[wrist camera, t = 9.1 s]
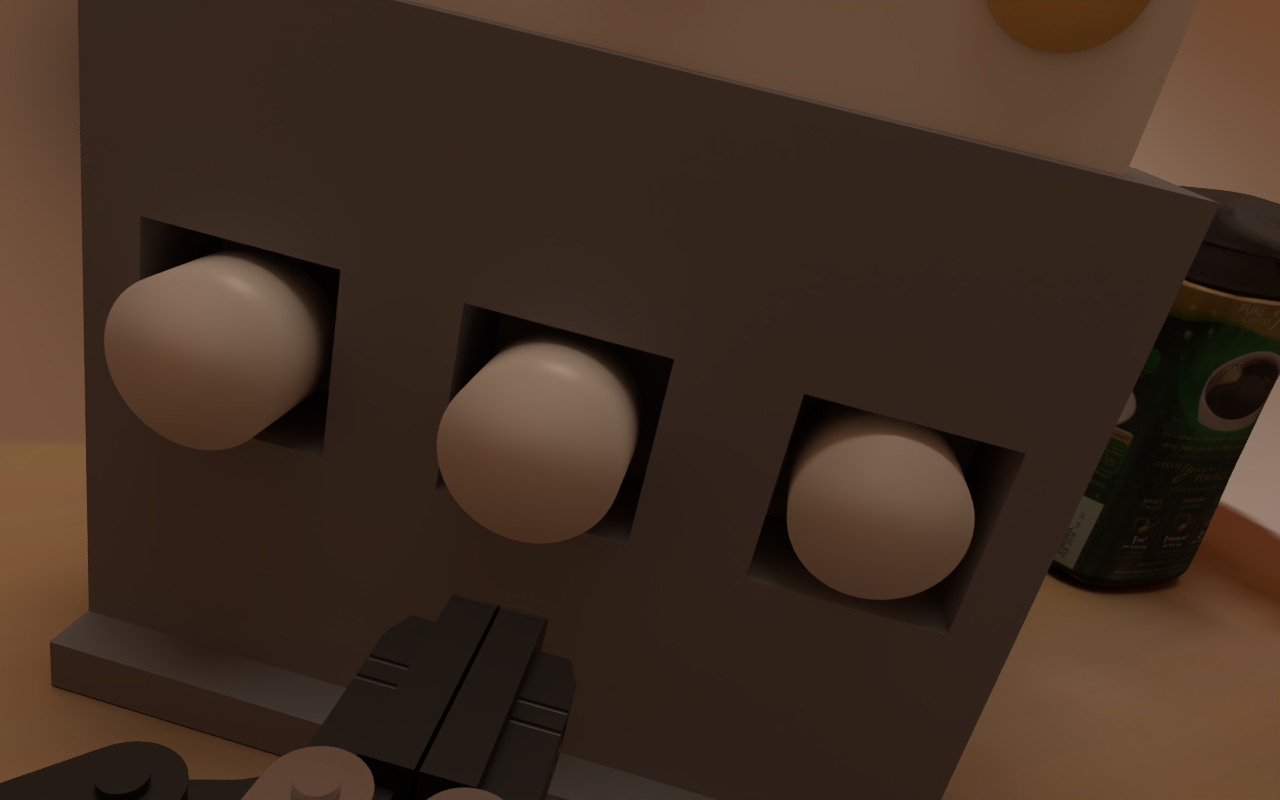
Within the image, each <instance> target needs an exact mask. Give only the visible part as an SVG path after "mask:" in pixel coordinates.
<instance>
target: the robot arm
mask: <svg viewBox="0 0 1280 800" xmlns="http://www.w3.org/2000/svg"><path fill="white" fill-rule="evenodd" d="M547 623H548V618H546V617H542V616H539V615H535V614H531V613H528V612H524V611H521V610H517V609H514V608H510V607H506V606H502V607H501V609H500V605H499V604H495V603H491V602H488V601H484V600H481V599H477V598H473V597H470V596H466V595H463V594H459V593H454V594H453V595H452V596H451V598H450V599H449V601H448V602H447V604H446V606H445V607H444V609H443V611H442V612H441V614H440V616H439V618H438V619H437V621H436V622H434V621H431V620H427V619H423V618H420V617H416V616H413V615H411V616H409V617H408V618H406V619H404V620H403V621H401V622H399V623H398V624H396V625H395V626H393V627H391V628H390V629H388V630H386V631H385V632H384V634H383V635H382V637H381V638H380V640H379V641H378V643H377V644H376V645H375V647H374V648H373V650H372V651H371V653H370V655H369V658H368V659H366V660H365V662H364V663H363V665H362V666H361V668H360V669H359V671H358V672H357V675H356V677H355V678H353V680H352V681H351V683H350V684H349V686H348V687H347V688H346V690H345V691H344V693H343V694H342V696H341V697H340V699H339V700H338V702H337V703H336V705H335V706H334V708H333V709H332V711H331V712H330V714H329V715H328V717H327V718H326V720H325V721H324V723H323V724H322V726H321V727H320V729H319V730H318V731H317V733H316V734H315V736H314V737H313V739H312V740H311V742H310V743H309V745H308V746H307V747H306V748H302V749H298V750H295V751H292V752H290V753H287V754H286V755H284V756H282V757H280V758H279V759H277V760H276V761H275V762H273V763H272V764H271V765H270V766H269V767H268V768H267V769H266V770H265V771H264V772H263V774H262V775H261V776H259V777H255V778H249V779H242V780H188V779H189V776H188V769H187V766H186V764H185V762H184V760H183V759H182V758H181V756H179V755H178V754H177V753H176V752H175V751H173V750H171V749H169V748H168V747H165V746H162V745H160V744H156V743H150V742H138V741H137V742H124V743H119V744H114V745H110V746H107V747H104V748H101V749H98V750H95V751H92V752H89V753H86V754H83V755H80V756H77V757H75V758H72V759H69V760H66V761H63V762H60V763H57V764H54V765H51V766H49V767H46V768H43V769H40V770H37V771H34V772H31V773H28V774H25V775H22V776H20V777H17V778H14V779H11V780H8V781H5V782H2V783H0V800H546V797H547V794H548V790H549V787H550V784H551V781H552V778H553V775H554V771H555V768H556V765H557V762H558V758H559V754H560V750H561V746H562V742H563V738H564V734H565V730H566V726H567V722H568V718H569V714H570V710H571V705H572V701H573V697H574V693H575V689H576V681H575V677H574V673H573V669H572V664H571V660H570V659H566V658H563V657H559V656H556V655H552V654H549V653H545V652H542V647H543V642H544V638H545V633H546V629H547Z"/></svg>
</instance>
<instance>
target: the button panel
mask: <svg viewBox="0 0 1280 800" xmlns="http://www.w3.org/2000/svg"><path fill="white" fill-rule="evenodd" d="M78 31H79V32H78V33H79V84H80V85H79V86H80V87H79V88H80V140H81V141H80V142H81V193H82V194H81V199H82V249H83V250H82V254H83V307H84V364H85V416H86V417H85V418H86V474H87V529H88V584H89V611H88V612H87V613H85V614H84V615H83V616H82V617H81V618H79V619H78V620H77V621H76V622H74V623H73V624H72V625H71V626H69V627H68V628H67V629H66V630H64V631H63V632H62V633H61V634H59V635H58V636H57V637H56V638H54V639H53V640H52V641H51V642H50V655H51V681H52V685H53V686H57V687H60V688H63V689H66V690H70V691H73V692H76V693H79V694H83V695H86V696H89V697H92V698H96V699H99V700H102V701H105V702H109V703H112V704H115V705H118V706H122V707H125V708H128V709H131V710H135V711H138V712H141V713H144V714H148V715H151V716H154V717H157V718H161V719H164V720H167V721H170V722H174V723H177V724H180V725H183V726H187V727H190V728H193V729H196V730H200V731H203V732H206V733H209V734H213V735H216V736H219V737H222V738H226V739H229V740H232V741H235V742H239V743H242V744H245V745H248V746H252V747H255V748H258V749H262V750H265V751H268V752H271V753H275V754H278V755H281V756H284V755H286V754H287V753H290V752H292V751H295V750H298V749H302V748H306V747H307V746H308V745H309V743H310V742H311V740H312V739H313V737H314V736H315V734H316V733H317V731H318V730H319V729H320V727H321V726H322V724H323V723H324V721H325V720H326V718H327V717H328V715H329V714H330V712H331V711H332V709H333V708H334V706H335V705H336V703H337V702H338V700H339V699H340V697H341V696H342V694H343V693H344V691H345V690H346V688H347V687H348V686H349V684H350V683H351V681H352V680H353V678H355V677H356V675H357V672H358V671H359V669H360V668H361V666H362V665H363V663H364V662H365V660H366V659H368V658H369V655H370V653H371V651H372V650H373V648H374V647H375V645H376V644H377V643H378V641H379V640H380V638H381V637H382V635H383V634H384V632H385V631H386V630H388V629H390V628H391V627H393V626H395V625H396V624H398V623H399V622H401V621H403V620H404V619H406V618H408V617H409V616H411V615H413V616H416V617H420V618H423V619H427V620H431V621H434V622H436V621H437V619H438V618H439V616H440V614H441V612H442V611H443V609H444V607H445V606H446V604H447V602H448V601H449V599H450V598H451V596H452V595H453V594H454V593H459V594H463V595H466V596H470V597H473V598H477V599H481V600H484V601H488V602H491V603H495V604H499V605H500V609H501V607H502V606H506V607H510V608H514V609H517V610H521V611H524V612H528V613H531V614H535V615H539V616H542V617H546V618H548V623H547V629H546V633H545V638H544V642H543V647H542V652H545V653H549V654H552V655H556V656H559V657H563V658H566V659H570V660H571V664H572V669H573V673H574V677H575V681H576V689H575V693H574V697H573V701H572V705H571V710H570V714H569V718H568V722H567V726H566V730H565V734H564V738H563V742H562V746H561V750H560V754H559V758H558V762H557V765H556V768H555V771H554V775H553V778H552V781H551V784H550V787H549V790H548V794H547V797H546V800H941V798H942V796H943V794H944V792H945V790H946V787H947V785H948V783H949V781H950V779H951V777H952V775H953V772H954V770H955V768H956V766H957V764H958V762H959V760H960V758H961V755H962V753H963V751H964V749H965V747H966V745H967V743H968V740H969V738H970V736H971V734H972V732H973V730H974V728H975V725H976V723H977V721H978V719H979V717H980V715H981V713H982V711H983V708H984V706H985V704H986V702H987V700H988V698H989V696H990V693H991V691H992V689H993V687H994V685H995V683H996V681H997V679H998V676H999V674H1000V672H1001V670H1002V668H1003V666H1004V664H1005V661H1006V659H1007V657H1008V655H1009V653H1010V651H1011V649H1012V647H1013V644H1014V642H1015V640H1016V638H1017V636H1018V634H1019V632H1020V629H1021V627H1022V625H1023V623H1024V621H1025V619H1026V617H1027V614H1028V612H1029V610H1030V608H1031V606H1032V604H1033V602H1034V600H1035V597H1036V595H1037V593H1038V591H1039V589H1040V587H1041V585H1042V582H1043V580H1044V578H1045V576H1046V574H1047V572H1048V570H1049V568H1050V565H1051V563H1052V561H1053V559H1054V557H1055V555H1056V553H1057V550H1058V548H1059V546H1060V544H1061V542H1062V540H1063V538H1064V535H1065V533H1066V531H1067V529H1068V527H1069V525H1070V523H1071V521H1072V518H1073V516H1074V514H1075V512H1076V510H1077V508H1078V506H1079V503H1080V501H1081V499H1082V497H1083V495H1084V493H1085V491H1086V489H1087V486H1088V484H1089V482H1090V480H1091V478H1092V476H1093V474H1094V471H1095V469H1096V467H1097V465H1098V463H1099V461H1100V459H1101V457H1102V454H1103V452H1104V450H1105V448H1106V446H1107V444H1108V442H1109V439H1110V437H1111V435H1112V433H1113V431H1114V429H1115V427H1116V424H1117V422H1118V420H1119V418H1120V416H1121V414H1122V412H1123V410H1124V407H1125V405H1126V403H1127V401H1128V399H1129V397H1130V395H1131V392H1132V390H1133V388H1134V386H1135V384H1136V382H1137V380H1138V378H1139V375H1140V373H1141V371H1142V369H1143V367H1144V365H1145V363H1146V360H1147V358H1148V356H1149V354H1150V352H1151V350H1152V348H1153V345H1154V343H1155V341H1156V339H1157V337H1158V335H1159V333H1160V331H1161V328H1162V326H1163V324H1164V322H1165V320H1166V318H1167V316H1168V313H1169V311H1170V309H1171V307H1172V305H1173V303H1174V301H1175V299H1176V296H1177V294H1178V292H1179V290H1180V288H1181V286H1182V284H1183V281H1184V279H1185V277H1186V275H1187V273H1188V271H1189V269H1190V267H1191V264H1192V262H1193V260H1194V258H1195V256H1196V254H1197V252H1198V249H1199V247H1200V245H1201V243H1202V241H1203V239H1204V237H1205V234H1206V232H1207V230H1208V228H1209V226H1210V224H1211V222H1212V220H1213V217H1214V215H1215V213H1216V211H1217V209H1218V207H1219V205H1220V203H1218V202H1216V201H1213V200H1211V199H1208V198H1206V197H1204V196H1201V195H1199V194H1196V193H1194V192H1191V191H1189V190H1187V189H1184V188H1182V187H1179V186H1177V185H1174V184H1172V183H1170V182H1167V181H1165V180H1162V179H1160V178H1157V177H1155V176H1153V175H1150V174H1148V173H1145V172H1142V171H1140V170H1138V169H1135V168H1130V167H1129V168H1128V170H1127V172H1126V175H1125V176H1122V175H1118V174H1114V173H1110V172H1106V171H1101V170H1097V169H1093V168H1089V167H1085V166H1081V165H1077V164H1073V163H1069V162H1065V161H1061V160H1057V159H1053V158H1049V157H1044V156H1040V155H1036V154H1032V153H1028V152H1024V151H1020V150H1016V149H1012V148H1008V147H1004V146H1000V145H996V144H992V143H987V142H983V141H979V140H975V139H971V138H967V137H963V136H959V135H955V134H951V133H947V132H943V131H939V130H935V129H930V128H926V127H922V126H918V125H914V124H910V123H906V122H902V121H898V120H894V119H890V118H886V117H882V116H878V115H873V114H869V113H865V112H861V111H857V110H853V109H849V108H845V107H841V106H837V105H833V104H829V103H825V102H821V101H816V100H812V99H808V98H804V97H800V96H796V95H792V94H788V93H784V92H780V91H776V90H772V89H768V88H764V87H759V86H755V85H751V84H747V83H743V82H739V81H735V80H731V79H727V78H723V77H719V76H715V75H711V74H707V73H702V72H698V71H694V70H690V69H686V68H682V67H678V66H674V65H670V64H666V63H662V62H658V61H654V60H650V59H645V58H641V57H637V56H633V55H629V54H625V53H621V52H617V51H613V50H609V49H605V48H601V47H597V46H593V45H588V44H584V43H580V42H576V41H572V40H568V39H564V38H560V37H556V36H552V35H548V34H544V33H540V32H536V31H531V30H527V29H523V28H519V27H515V26H511V25H507V24H503V23H499V22H495V21H491V20H487V19H483V18H479V17H474V16H470V15H466V14H462V13H458V12H454V11H450V10H446V9H442V8H438V7H434V6H430V5H426V4H422V3H417V2H413V1H409V0H78ZM235 246H254V247H257V248H261V249H265V250H269V251H272V252H276V253H280V254H282V255H284V256H286V257H288V258H289V259H291V260H293V261H294V262H296V263H297V264H298V265H300V266H301V267H302V268H303V269H305V270H306V271H307V272H308V273H309V274H310V275H311V276H312V277H313V278H314V280H315V281H316V282H317V283H318V285H319V286H320V287H321V289H322V290H323V292H324V293H325V295H326V296H327V298H328V301H329V303H330V305H331V307H332V309H333V312H334V315H335V318H336V322H335V333H334V343H333V354H332V364H331V374H330V376H329V377H328V379H327V380H326V381H325V383H324V384H323V385H322V386H321V387H320V388H319V389H318V390H317V391H315V392H314V393H313V394H311V395H310V396H308V397H307V398H306V399H304V400H303V401H302V402H300V403H299V404H297V405H296V406H295V407H293V408H292V409H291V410H289V411H288V412H286V413H285V414H284V415H282V416H281V417H280V418H278V419H277V420H276V421H274V422H273V423H271V424H270V425H269V426H267V427H266V428H265V429H263V430H262V431H260V432H259V433H258V434H256V435H255V436H254V437H252V438H251V439H249V440H248V441H246V442H244V443H242V444H240V445H238V446H235V447H232V448H229V449H223V450H200V449H194V448H190V447H186V446H183V445H180V444H178V443H175V442H173V441H171V440H169V439H167V438H165V437H163V436H162V435H160V434H158V433H157V432H155V431H154V430H153V429H151V428H150V427H149V426H147V425H146V424H145V423H144V422H143V421H142V420H141V419H140V418H139V417H137V416H136V414H135V413H134V412H133V411H132V410H131V409H130V408H129V406H128V405H127V404H126V402H125V401H124V399H123V398H122V397H121V395H120V393H119V391H118V390H117V388H116V386H115V384H114V382H113V379H112V377H111V375H110V372H109V368H108V365H107V361H106V356H105V348H104V334H105V327H106V322H107V318H108V315H109V313H110V310H111V308H112V307H113V305H114V303H115V301H116V300H117V299H118V297H119V296H120V295H121V294H122V293H123V292H124V291H125V290H126V289H127V288H128V287H130V286H131V285H133V284H135V283H136V282H138V281H140V280H143V279H145V278H148V277H150V276H153V275H156V274H159V273H161V272H164V271H167V270H169V269H172V268H175V267H177V266H180V265H183V264H186V263H188V262H191V261H194V260H196V259H199V258H202V257H204V256H207V255H210V254H212V253H215V252H218V251H221V250H223V249H226V248H230V247H235ZM542 329H563V330H567V331H571V332H575V333H578V334H582V335H586V336H589V337H592V338H594V339H597V340H598V341H600V342H602V343H603V344H605V345H606V346H608V347H609V348H610V349H611V350H613V351H614V352H615V353H616V354H617V355H618V356H619V357H620V358H621V359H622V360H623V361H624V362H625V364H626V365H627V366H628V368H629V369H630V370H631V372H632V374H633V376H634V378H635V379H636V381H637V384H638V386H639V389H640V392H641V396H642V400H643V408H644V422H643V428H642V433H641V436H640V439H639V442H638V444H637V447H636V449H635V452H634V454H633V457H632V459H631V461H630V464H629V466H628V469H627V471H626V474H625V476H624V478H623V481H622V483H621V486H620V488H619V491H618V493H617V495H616V498H615V500H614V502H613V504H612V506H611V507H610V509H609V510H608V511H607V513H606V514H605V515H604V516H603V518H602V519H601V520H600V521H599V522H598V523H597V524H595V525H594V526H593V527H591V528H590V529H589V530H587V531H585V532H584V533H582V534H580V535H578V536H576V537H573V538H571V539H568V540H564V541H560V542H554V543H539V544H535V543H526V542H521V541H516V540H512V539H509V538H506V537H503V536H501V535H498V534H496V533H494V532H492V531H490V530H489V529H487V528H485V527H484V526H482V525H480V524H479V523H478V522H477V521H475V520H474V519H473V518H471V517H470V516H469V515H468V514H467V513H466V512H465V511H464V510H463V509H462V508H461V507H460V505H459V504H458V503H457V502H456V500H455V499H454V498H453V496H452V494H451V493H450V491H449V490H448V488H447V486H446V484H445V482H444V479H443V477H442V474H441V471H440V468H439V463H438V458H437V434H438V430H439V425H440V422H441V420H442V417H443V414H444V412H445V411H446V409H447V407H448V405H449V404H450V402H451V401H452V400H453V399H454V397H455V396H456V395H457V394H458V393H459V392H460V391H461V390H462V389H463V388H464V387H465V386H466V385H467V384H468V383H469V381H470V380H471V379H472V378H473V377H474V376H475V375H476V374H477V373H478V372H479V371H480V370H481V369H482V368H483V367H484V366H485V365H486V364H487V363H488V362H489V361H490V360H491V359H492V358H493V357H494V356H495V355H496V354H497V353H498V352H499V351H500V350H501V349H502V348H503V347H504V346H505V345H506V344H508V343H509V342H511V341H512V340H513V339H515V338H517V337H519V336H521V335H523V334H526V333H529V332H532V331H537V330H542ZM830 401H832V402H836V403H839V404H843V405H847V406H851V407H854V408H858V409H862V410H865V411H869V412H873V413H877V414H880V415H884V416H888V417H892V418H895V419H899V420H903V421H907V422H910V423H914V424H918V425H921V426H925V427H929V428H933V429H936V430H940V431H944V432H947V433H948V435H949V437H950V439H951V442H952V444H953V447H954V450H955V453H956V456H957V458H958V461H959V464H960V467H961V470H962V473H963V475H964V478H965V481H966V484H967V487H968V489H969V492H970V495H971V499H972V502H973V507H974V515H975V517H974V530H973V536H972V539H971V542H970V545H969V547H968V549H967V551H966V553H965V555H964V557H963V558H962V560H961V561H960V563H959V564H958V565H957V567H956V568H955V569H954V570H953V571H952V572H951V573H950V574H949V575H948V576H946V577H945V578H944V579H943V580H942V581H940V582H939V583H937V584H935V585H934V586H932V587H930V588H928V589H926V590H924V591H922V592H920V593H917V594H914V595H911V596H907V597H902V598H897V599H888V600H873V599H864V598H859V597H854V596H850V595H847V594H845V593H842V592H839V591H837V590H835V589H833V588H831V587H829V586H827V585H826V584H824V583H823V582H821V581H820V580H819V579H817V578H816V577H815V576H814V575H812V574H811V573H810V572H809V570H808V569H807V568H806V567H805V566H804V565H803V564H802V562H801V561H800V559H799V558H798V556H797V554H796V553H795V551H794V549H793V546H792V544H791V541H790V538H789V533H788V528H787V502H788V477H789V459H790V452H791V448H792V444H793V442H794V439H795V437H796V435H797V433H798V431H799V429H800V428H801V426H802V425H803V424H804V422H805V421H806V420H807V419H808V418H809V417H810V416H811V415H812V414H813V413H814V412H815V411H816V410H817V409H819V408H820V407H821V406H823V405H825V404H826V403H828V402H830Z"/></svg>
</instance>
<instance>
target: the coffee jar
mask: <svg viewBox="0 0 1280 800" xmlns="http://www.w3.org/2000/svg"><path fill="white" fill-rule="evenodd" d="M1179 187H1182V188H1184V189H1187V190H1189V191H1191V192H1194V193H1196V194H1199V195H1201V196H1204V197H1206V198H1208V199H1211V200H1213V201H1216V202H1218V203H1220V205H1219V207H1218V209H1217V211H1216V213H1215V215H1214V217H1213V220H1212V222H1211V224H1210V226H1209V228H1208V230H1207V232H1206V234H1205V237H1204V239H1203V241H1202V243H1201V245H1200V247H1199V249H1198V252H1197V254H1196V256H1195V258H1194V260H1193V262H1192V264H1191V267H1190V269H1189V271H1188V273H1187V275H1186V277H1185V279H1184V281H1183V284H1182V286H1181V288H1180V290H1179V292H1178V294H1177V296H1176V299H1175V301H1174V303H1173V305H1172V307H1171V309H1170V311H1169V313H1168V316H1167V318H1166V320H1165V322H1164V324H1163V326H1162V328H1161V331H1160V333H1159V335H1158V337H1157V339H1156V341H1155V343H1154V345H1153V348H1152V350H1151V352H1150V354H1149V356H1148V358H1147V360H1146V363H1145V365H1144V367H1143V369H1142V371H1141V373H1140V375H1139V378H1138V380H1137V382H1136V384H1135V386H1134V388H1133V390H1132V392H1131V395H1130V397H1129V399H1128V401H1127V403H1126V405H1125V407H1124V410H1123V412H1122V414H1121V416H1120V418H1119V420H1118V422H1117V424H1116V427H1115V429H1114V431H1113V433H1112V435H1111V437H1110V439H1109V442H1108V444H1107V446H1106V448H1105V450H1104V452H1103V454H1102V457H1101V459H1100V461H1099V463H1098V465H1097V467H1096V469H1095V471H1094V474H1093V476H1092V478H1091V480H1090V482H1089V484H1088V486H1087V489H1086V491H1085V493H1084V495H1083V497H1082V499H1081V501H1080V503H1079V506H1078V508H1077V510H1076V512H1075V514H1074V516H1073V518H1072V521H1071V523H1070V525H1069V527H1068V529H1067V531H1066V533H1065V535H1064V538H1063V540H1062V542H1061V544H1060V546H1059V548H1058V550H1057V553H1056V555H1055V557H1054V559H1053V561H1052V563H1051V565H1050V566H1052V567H1054V568H1056V569H1058V570H1060V571H1063V572H1065V573H1067V574H1069V575H1071V576H1072V577H1074V578H1076V579H1078V580H1079V581H1082V582H1085V583H1088V584H1094V585H1100V586H1131V585H1142V584H1149V583H1157V582H1162V581H1166V580H1170V579H1173V578H1176V577H1178V576H1180V575H1182V574H1183V573H1184V572H1185V571H1186V570H1187V569H1188V567H1189V566H1190V564H1191V562H1192V560H1193V558H1194V556H1195V554H1196V552H1197V550H1198V548H1199V546H1200V544H1201V541H1202V539H1203V537H1204V535H1205V533H1206V531H1207V529H1208V526H1209V524H1210V521H1211V519H1212V517H1213V515H1214V512H1215V510H1216V508H1217V506H1218V503H1219V501H1220V499H1221V496H1222V494H1223V492H1224V490H1225V487H1226V485H1227V483H1228V480H1229V478H1230V476H1231V474H1232V472H1233V470H1234V467H1235V465H1236V463H1237V461H1238V459H1239V457H1240V455H1241V453H1242V451H1243V449H1244V446H1245V444H1246V442H1247V440H1248V438H1249V436H1250V434H1251V431H1252V430H1253V427H1254V425H1255V423H1256V421H1257V419H1258V417H1259V415H1260V412H1261V411H1262V409H1263V407H1264V404H1265V402H1266V400H1267V398H1268V396H1269V394H1270V392H1271V390H1272V388H1273V386H1274V384H1275V382H1276V380H1277V379H1278V377H1279V375H1280V204H1278V203H1274V202H1271V201H1268V200H1265V199H1262V198H1258V197H1255V196H1251V195H1247V194H1242V193H1236V192H1230V191H1223V190H1215V189H1206V188H1196V187H1185V186H1179Z"/></svg>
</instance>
